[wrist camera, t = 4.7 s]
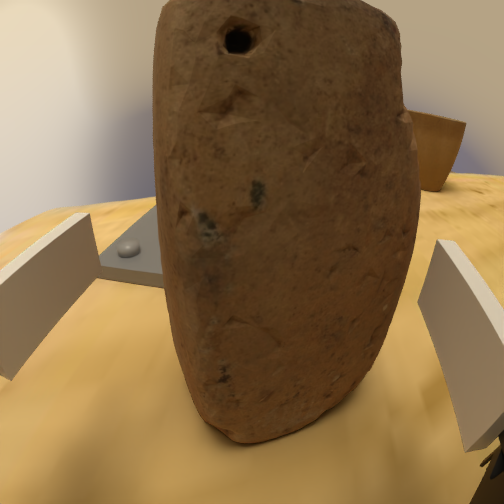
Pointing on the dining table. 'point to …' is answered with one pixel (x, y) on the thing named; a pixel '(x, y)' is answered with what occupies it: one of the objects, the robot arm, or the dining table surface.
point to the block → (280, 202)
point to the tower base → (135, 254)
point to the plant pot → (436, 147)
